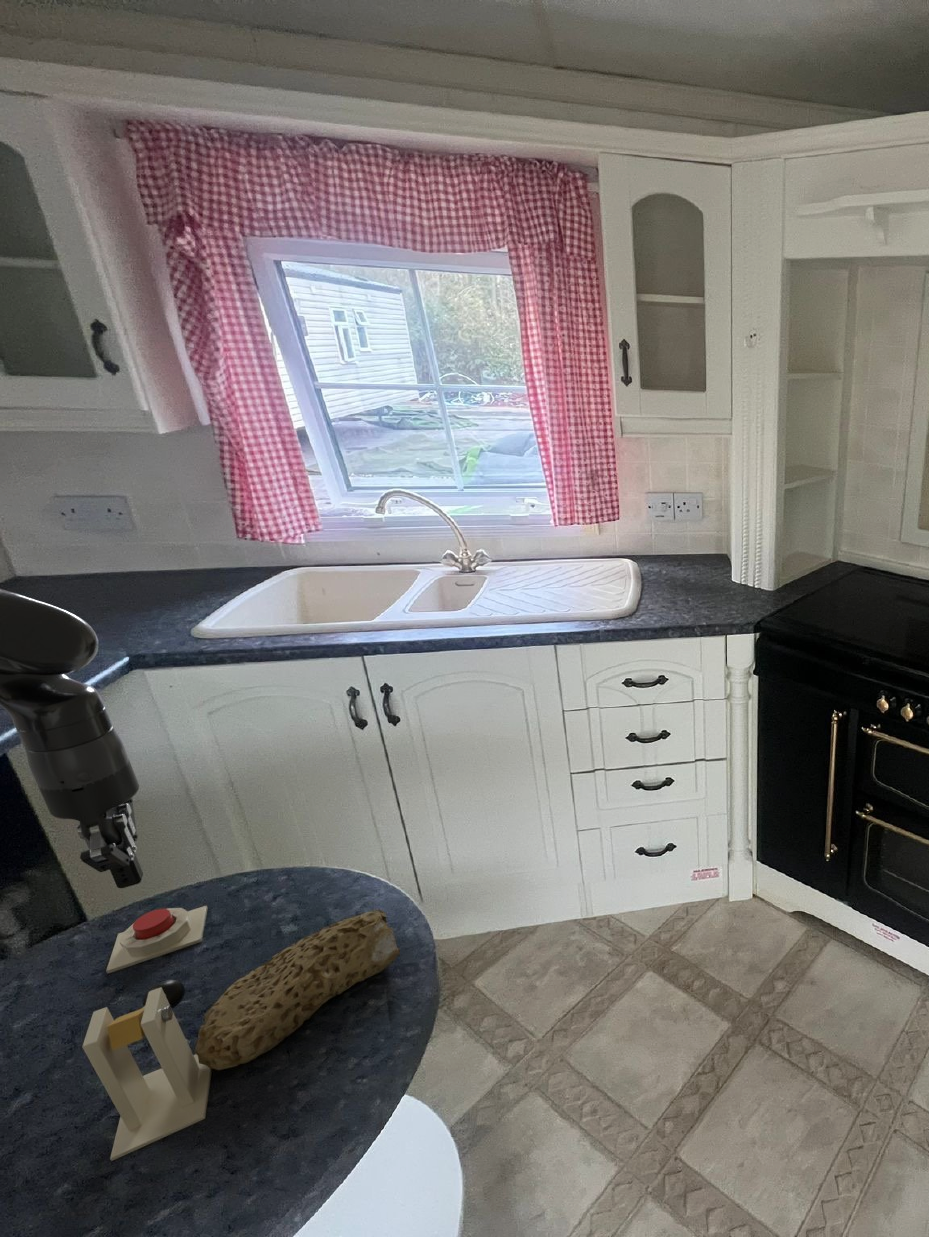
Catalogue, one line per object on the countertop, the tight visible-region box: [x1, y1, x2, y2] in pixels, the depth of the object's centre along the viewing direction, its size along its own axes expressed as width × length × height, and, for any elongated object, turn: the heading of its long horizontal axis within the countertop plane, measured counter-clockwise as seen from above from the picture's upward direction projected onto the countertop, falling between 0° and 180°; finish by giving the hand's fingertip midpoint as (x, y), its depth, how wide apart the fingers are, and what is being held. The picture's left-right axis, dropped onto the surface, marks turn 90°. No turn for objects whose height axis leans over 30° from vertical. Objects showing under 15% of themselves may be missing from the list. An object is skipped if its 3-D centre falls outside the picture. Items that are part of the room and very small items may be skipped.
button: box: [132, 908, 174, 940], centre depth 88 cm, size 4×4×2 cm
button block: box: [105, 905, 209, 975], centre depth 88 cm, size 9×7×3 cm
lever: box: [107, 979, 186, 1050], centre depth 71 cm, size 14×3×3 cm, turn 35°
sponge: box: [194, 909, 401, 1071], centre depth 81 cm, size 13×8×20 cm
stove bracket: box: [81, 987, 213, 1162], centre depth 68 cm, size 9×7×14 cm
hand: (131, 882), depth 85 cm, fingers closed
